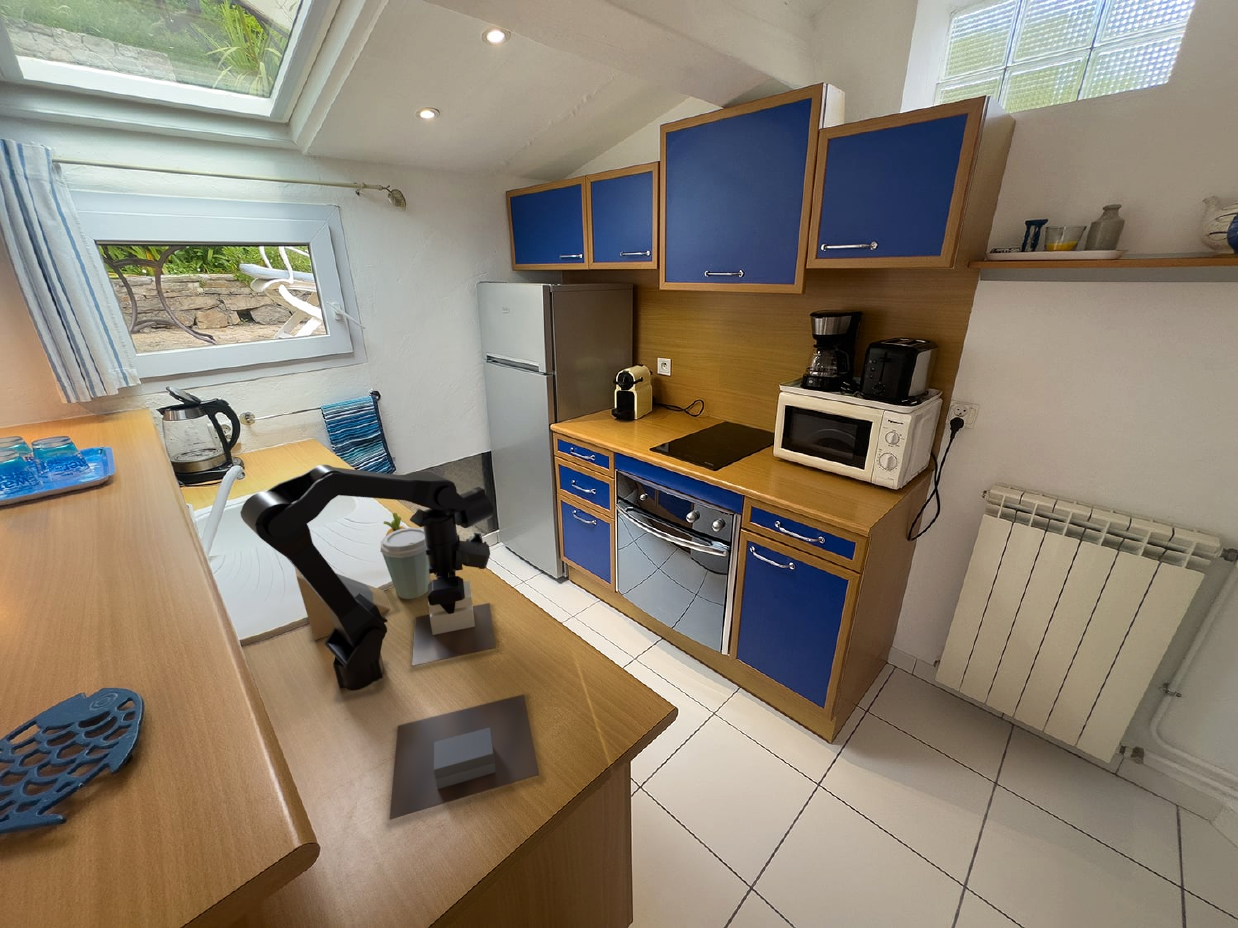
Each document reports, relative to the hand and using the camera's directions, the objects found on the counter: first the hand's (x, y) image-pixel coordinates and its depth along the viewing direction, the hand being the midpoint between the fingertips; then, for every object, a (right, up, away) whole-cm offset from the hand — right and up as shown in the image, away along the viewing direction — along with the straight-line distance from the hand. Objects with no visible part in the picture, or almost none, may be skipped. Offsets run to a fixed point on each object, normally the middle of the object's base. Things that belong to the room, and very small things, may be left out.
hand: (450, 604), depth 99 cm
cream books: (0, -4, +2) cm, 4 cm away
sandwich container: (-22, -4, +5) cm, 23 cm away
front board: (+10, -16, -24) cm, 31 cm away
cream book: (0, +1, 0) cm, 1 cm away
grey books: (+11, -16, -27) cm, 33 cm away
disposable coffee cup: (-12, -1, +12) cm, 17 cm away
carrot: (-18, +2, +20) cm, 27 cm away
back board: (+1, -6, 0) cm, 6 cm away
